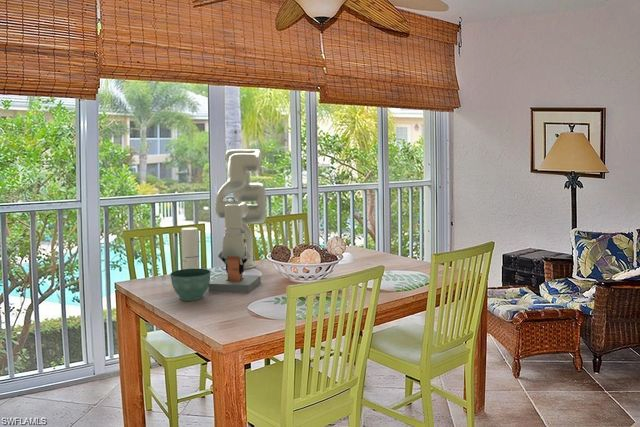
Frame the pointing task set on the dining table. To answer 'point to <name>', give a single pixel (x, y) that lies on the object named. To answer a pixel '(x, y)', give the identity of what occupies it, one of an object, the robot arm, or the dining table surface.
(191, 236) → the cylindrical container
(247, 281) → the socket block
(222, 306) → the dining table surface
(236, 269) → the peg
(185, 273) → the green bowl
